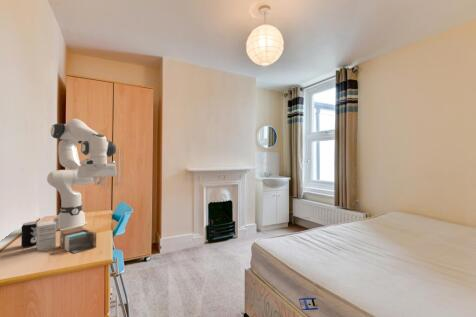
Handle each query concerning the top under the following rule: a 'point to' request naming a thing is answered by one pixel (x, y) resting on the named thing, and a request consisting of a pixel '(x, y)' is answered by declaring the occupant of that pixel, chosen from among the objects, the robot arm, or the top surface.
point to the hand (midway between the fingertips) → (98, 184)
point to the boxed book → (73, 238)
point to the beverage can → (28, 234)
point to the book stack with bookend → (78, 239)
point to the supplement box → (45, 235)
